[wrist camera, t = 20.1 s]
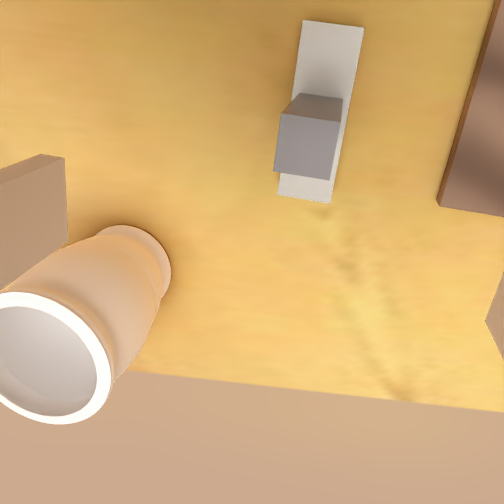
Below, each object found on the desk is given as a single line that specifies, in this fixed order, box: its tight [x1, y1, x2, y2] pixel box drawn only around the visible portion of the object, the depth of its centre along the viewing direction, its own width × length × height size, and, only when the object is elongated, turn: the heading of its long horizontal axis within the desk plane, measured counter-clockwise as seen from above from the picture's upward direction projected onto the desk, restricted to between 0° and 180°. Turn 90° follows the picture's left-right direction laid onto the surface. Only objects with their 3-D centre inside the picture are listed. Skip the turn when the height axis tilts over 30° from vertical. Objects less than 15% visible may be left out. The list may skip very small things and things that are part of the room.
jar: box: [0, 225, 171, 424], centre depth 38 cm, size 11×10×15 cm
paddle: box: [273, 20, 365, 204], centre depth 30 cm, size 12×4×13 cm, turn 173°
